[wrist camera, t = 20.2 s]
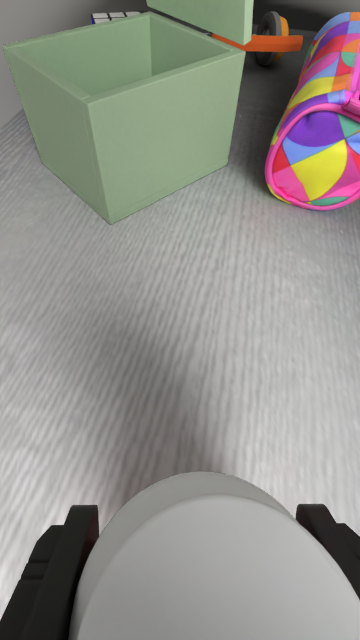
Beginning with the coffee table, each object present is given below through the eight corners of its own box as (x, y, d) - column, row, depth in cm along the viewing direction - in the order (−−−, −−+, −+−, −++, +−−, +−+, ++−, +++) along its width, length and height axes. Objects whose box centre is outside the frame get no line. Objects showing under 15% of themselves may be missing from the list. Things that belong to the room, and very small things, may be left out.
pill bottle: (106, 514, 15) (8, 495, 6) (230, 477, 16) (316, 408, 7) (130, 706, 12) (-6, 1367, 2) (283, 642, 13) (585, 945, 4)
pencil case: (364, 235, 26) (445, 115, 18) (251, 208, 27) (283, 87, 20) (367, 114, 37) (418, 9, 30) (287, 99, 39) (316, -4, 31)
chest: (110, 225, 26) (87, 104, 18) (41, 163, 30) (0, 44, 23) (227, 164, 31) (246, 51, 23) (154, 119, 35) (150, 10, 28)
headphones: (293, 12, 49) (345, 13, 34) (284, 57, 52) (328, 75, 38) (183, 9, 48) (189, 8, 34) (182, 55, 52) (188, 71, 37)
